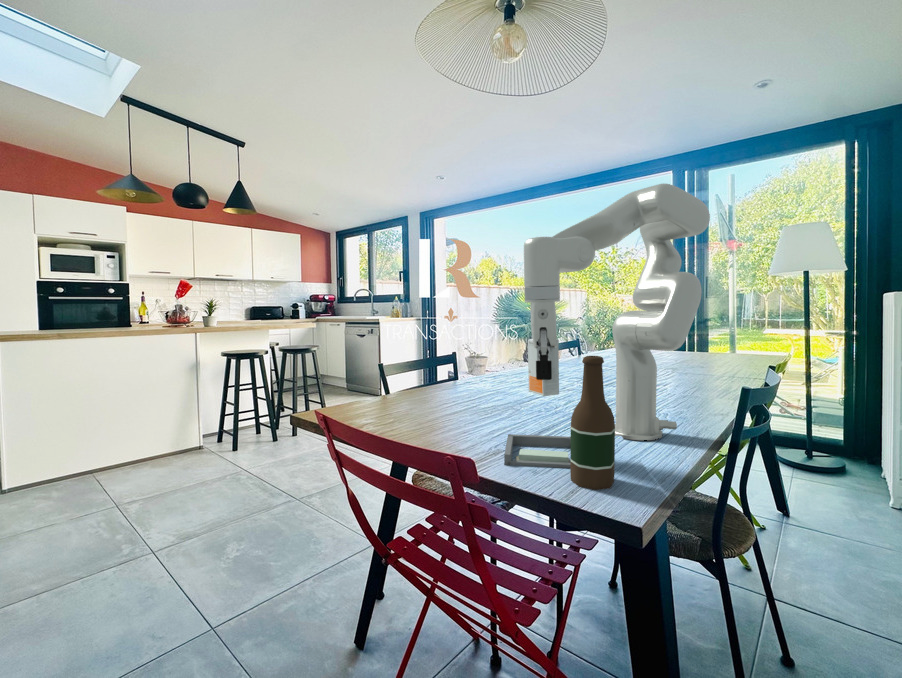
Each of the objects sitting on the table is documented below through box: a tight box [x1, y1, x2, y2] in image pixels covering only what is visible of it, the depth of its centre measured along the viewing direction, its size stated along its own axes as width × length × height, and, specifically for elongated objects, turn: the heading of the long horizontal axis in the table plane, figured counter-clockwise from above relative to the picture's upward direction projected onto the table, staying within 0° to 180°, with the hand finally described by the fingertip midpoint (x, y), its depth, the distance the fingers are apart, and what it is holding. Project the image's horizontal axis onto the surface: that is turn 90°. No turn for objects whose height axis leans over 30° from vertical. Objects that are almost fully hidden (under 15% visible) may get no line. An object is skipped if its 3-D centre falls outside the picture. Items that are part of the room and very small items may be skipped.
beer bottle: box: [569, 355, 616, 491], centre depth 80 cm, size 8×8×24 cm
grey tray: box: [503, 433, 571, 469], centre depth 95 cm, size 15×14×3 cm
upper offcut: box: [518, 448, 569, 463], centre depth 92 cm, size 10×4×2 cm, turn 77°
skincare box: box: [527, 338, 560, 397], centre depth 96 cm, size 6×4×12 cm
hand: (543, 375), depth 96 cm, fingers closed on skincare box, 7 cm apart
